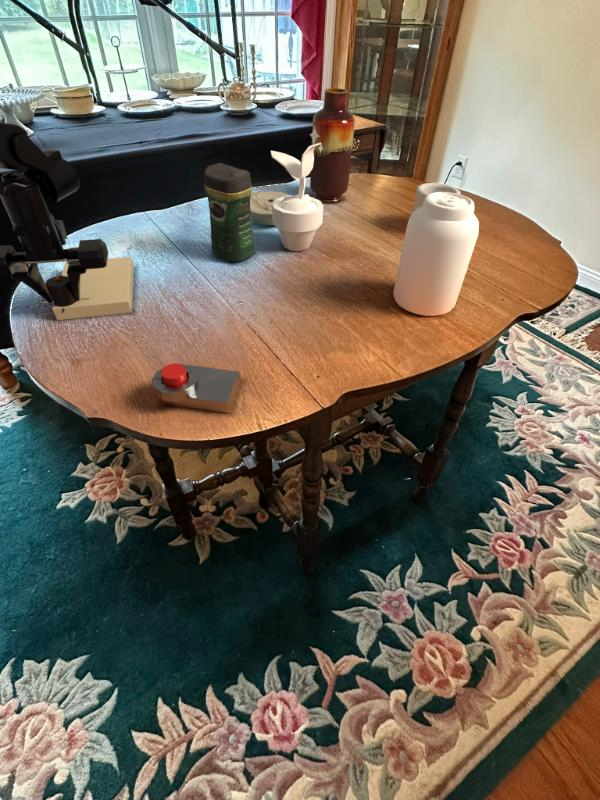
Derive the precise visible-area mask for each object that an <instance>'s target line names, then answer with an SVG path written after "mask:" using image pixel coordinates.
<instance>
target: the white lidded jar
mask: <svg viewBox="0 0 600 800" xmlns="http://www.w3.org/2000/svg"><path fill="white" fill-rule="evenodd" d="M412 211H413V210H412ZM479 227H480V220H478V217H477V216H476V215H475V202H474V200H473V199H471V198H470V197H468V196H467V195H463V194H457V193H452V192H435V193H431V194H429V195H427V196H426V198H425V199H424V202H423V205H422V206H421V207H419V208H418V209H416V210H415V211H413V213H412V212H411V215H410V217H409V219H408V222H407V225H406V229H405V233H404V234H405V235H404V239H403V244H402V249H401V254H400V259H399V263H398V268H397V272H396V278H395V283H394V288H393V291H392V292H393V293H392V294H393V298H394V301H395V303H396V304H397V305H398V306H399V307H400V308H402V309H404V310H405V311H407V312H410V313H413V314H414V315H415V314H416V315H421V316H425V317H429V316H430V317H436V316H442V315H443V316H444V315H445V314H447V313H449V312H451V311H452V310H453V308H454V307H455V306H456V305H457V301H458V299H459V295H460V292H461V288H462V286H463V282H464V280H465V277H466V274H467V271H468V268H469V266H470V265H469V264H470V262H471V258H472V255H473V252H474V249H475V246H476V243H477V240H478V237H479V231H480V230H479V229H480V228H479Z"/></svg>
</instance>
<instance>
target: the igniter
mask: <svg viewBox="0 0 600 800" xmlns="http://www.w3.org/2000/svg"><path fill="white" fill-rule="evenodd" d="M180 364H181V365H183V366H184V367H185V369H186V374H187V381H186V383H185V384H183V385H182V386H178V387H174V388H173V387H168V386H166V385H165V384H164V382H163V378H162V375H161V371H162V369H163V368H164V367H162V368H160V369H158V370H157V371H155V373H154V375H153V377H152V379H151V381H152V386H153V390H154V393H155V396H156V397H158V398H159V399H161V400H162V404H163V405H166V406H167V405H168V406H173V407H181V408H190V409H195V410H196V409H197V410H203V411H210V412H217V413H225V414H229V413H230V411H231V408H232V406H233V403H234V401H235V397H236V395H237V393H238V390H239V388H240V385H241V372H240V371H237V370H230V369H224V368H223V369H222V368H215V367H207V366H199V365H192V364H191V365H190V364H184V363H180Z"/></svg>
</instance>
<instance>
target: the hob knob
mask: <svg viewBox="0 0 600 800" xmlns="http://www.w3.org/2000/svg"><path fill="white" fill-rule="evenodd" d="M45 284H46V286H47V288H48V291H49V293H50V296H51V298H52V300H53V302H52V304H53V305H54V304H55V305H56V306H59V307H65V306H69V305H72V304H74V303H75V302H76V301H77V300H76V298H75V296H74V293H73V290H72V287H71V284H70V281H69V279H68V277H67V276H62V273H57V274H56V275H55V276H51V277H49V278H47V280H46V281H45Z"/></svg>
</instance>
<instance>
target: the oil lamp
mask: <svg viewBox="0 0 600 800" xmlns="http://www.w3.org/2000/svg"><path fill="white" fill-rule="evenodd" d="M284 196H291V194H289V193H285V192H281V191H252V192H251V196H250V210H251V218H252V219H254V221H255V222H257V223H258V224H261V225H263V226H274V224H273V221H272V203H273V202H274V201H275V200H276V199H277V198H280V197H284Z"/></svg>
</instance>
